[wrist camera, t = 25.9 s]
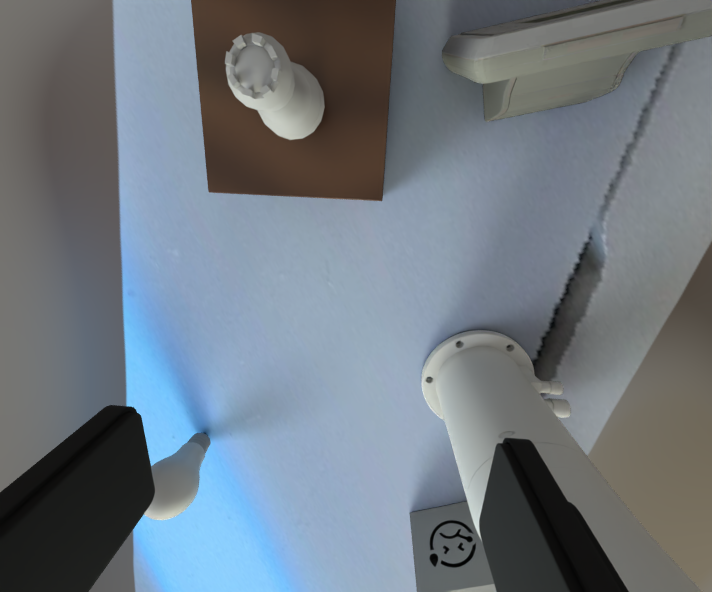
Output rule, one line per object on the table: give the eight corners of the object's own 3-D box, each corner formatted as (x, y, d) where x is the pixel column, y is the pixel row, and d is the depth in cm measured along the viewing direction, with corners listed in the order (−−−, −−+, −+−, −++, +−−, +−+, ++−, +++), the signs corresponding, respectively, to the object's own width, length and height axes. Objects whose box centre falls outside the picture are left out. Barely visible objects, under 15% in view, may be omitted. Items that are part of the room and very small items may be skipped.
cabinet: (245, 24, 30) (186, -47, 21) (392, 28, 29) (398, -43, 20) (253, 190, 34) (208, 192, 25) (381, 196, 34) (382, 201, 25)
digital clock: (643, 2, 27) (797, -103, 17) (613, 124, 30) (730, 95, 20) (444, 3, 28) (480, -97, 18) (433, 121, 31) (459, 91, 21)
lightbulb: (224, 458, 46) (179, 539, 35) (181, 449, 46) (123, 527, 35) (228, 422, 44) (181, 496, 33) (182, 413, 44) (121, 484, 33)
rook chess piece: (251, 80, 23) (187, 27, 15) (313, 57, 22) (279, -11, 14) (275, 149, 24) (227, 133, 16) (334, 128, 23) (312, 102, 16)
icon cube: (429, 561, 50) (441, 650, 40) (409, 512, 47) (417, 596, 37) (497, 549, 48) (526, 639, 38) (481, 498, 45) (508, 581, 36)
